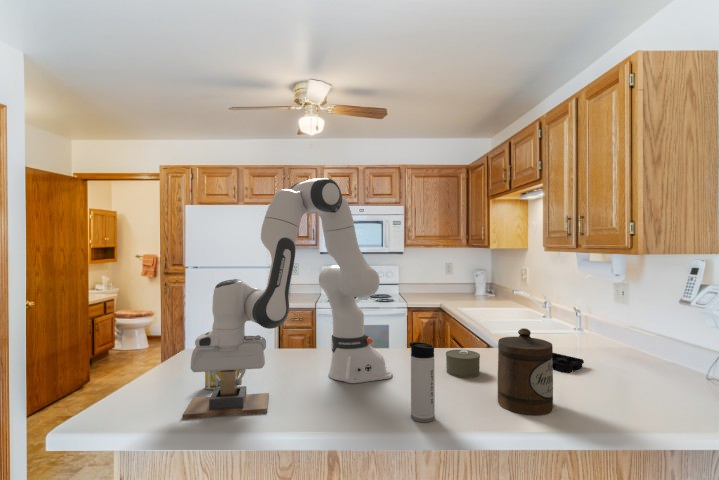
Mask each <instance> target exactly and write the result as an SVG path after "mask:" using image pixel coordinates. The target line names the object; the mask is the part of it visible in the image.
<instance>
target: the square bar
mask: <svg viewBox="0 0 719 480" xmlns="http://www.w3.org/2000/svg"><path fill="white" fill-rule="evenodd" d="M236 378H237V370H226V371H221V397H225V396H237V387H238V385H236Z"/></svg>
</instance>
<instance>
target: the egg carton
mask: <svg viewBox="0 0 719 480" xmlns="http://www.w3.org/2000/svg"><path fill="white" fill-rule="evenodd" d="M552 361H553V370H555V371H556V372H559V373H562V374H570V373H572V372H574V371H579V370H582V368H583V364H584V363H585V361H584V359H582V358H578V357H574V356H569V355H567V354H566V355H565V354H562V353H561V354H560V353H556V352H553V355H552Z"/></svg>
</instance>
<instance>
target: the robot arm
mask: <svg viewBox="0 0 719 480" xmlns="http://www.w3.org/2000/svg"><path fill="white" fill-rule="evenodd" d="M305 214H318V215H319V217H320V220H321V226H322V232H323V236H324V237H323V238H324V243H325V248H326V252H327V254H328V255H329V256H331V257H332V258H333V259H334V261H335V263H336V264H333V265H329V266H326V267H324V268H323V269H321V271H320V273H319V275H318V284H319V287H320V288H321V289H322V291H323V292H324V293H325V295H326V297H327V299H328V302H329V306H330V310H331V314H332V335H331V338H330V339H331V340H330V341H331V343H330V344H331V345H330V346H331V361H330V367H329V371H328V373H327V375H328V377H329V378H331V379H333V380H335V381H341V382H345V383H347V384H359V383H366V382H367V383H368V382H373V381H379V380H380V381H381V380H387V379H388V380H389V379H391V378H392V376H393V372H392V370H391V369H390V367H388V366H386V361H385V358H384V356H383V355H382V353H381V352H379V351H378V350H376V348H374V347H373V346H371V344H372V343H373V342H374V340H373V338H372V337H370V336H368V335H367V334H365V316H364V312H363V310H362V309H361V308H360V307H359V305H358V304H357V302H356V300H355V298H359V299H360V298H369V297H372V296H374V295H375V294H376V293H377V292H378V291H379V288H380V277H379V274H378V272H377V270H375V269H374V268H373V267H372V266H370V264H369V263H368V262H367V260H366V259H365V256H364V255H363V253H362V251H361V249H360V246H359V243H358V242H359V241H358V238H357V232H356V229H355V223H354V219H353V215H352V211H351V209H350V205H349V203H348V200H347V198H345V197H343V194H342V191H341V188H340V187H339V185H338V183H337V182H336V181H335V180H333V179H331V178H327V177H321V178H312V179H308V180H305V181H302V182H297V183H295V184H292V185H291V187H289V189H288V188H284V189H279V190H278V191H276V193H274V195H273V197H272V198H271V201H270V203H269V205H268V208H267V210H266V212H265V215H264V219H263V221H262V224H261V229H260V241H261V242H262V244H263V246H264V248H266V249H267V251H269V254H270V258H271V265H270V270H269V275H268V278H267V284H266V287H265V289H260V288H257V287H254V286H251V285H249V284H247V283H245V282H244V281H242V280H241V279H237V278H233V279H227V280H223V281H220V282H218V283H217V284H216V285H215V287H214V289H213V296H212V307H211V308H212V309H211V310H212V316H213V323H212V326H211V327H212V329H211V330H210V331H208V332H204V333H202V334H200V335H199V336H197V337H196V338H195V341H194V345H195V348H194V349H193V351H192V353H191V358H190V370H191V371H192V373H202V372H203V373H205V372H208V371H212V376H213V378H214V379H215V381H216V387H218V386H221V378H220V379H219V377H218V375H217V373H218V371H226V370H240V374H239V376H238V377H237V378H236V385H237V386H241V385H242V383H243V381H242V379H243V377H244V376H245V374H246V371H247V370H256V369H259V370H260V369H263V367H265V365H266V355H265V354H266V353H265V350H266V348H267V340H266V339H265V338H264V337H263V336H261V335H257V334H256V335H246V334H245V333H246V329H245V328H246V327H245V325H246V322H248V321H249V322H253V323H255V324H257V325H259V326H261V327H263V328H264V329H270V330H271V329H276V328H278V327H280V326H281V325H282V324H283V323H284V322H285V321H286V320H287V317H289V314H290V313H289V312H290V300H289V299H290V298H289V294H290V293H289V292H290V286H291V282H292V281H291V280H292V275H293V271H294V264H295V258H296V241H297V238H298V237H297V236H298V232H299V230H300V226H301V222H302V217H303V216H304V215H305Z"/></svg>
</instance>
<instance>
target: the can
mask: <svg viewBox="0 0 719 480" xmlns="http://www.w3.org/2000/svg"><path fill="white" fill-rule="evenodd" d="M480 357H481V355H480V353H479V352H477V351H473V350H469V349H452V350H448V351H446V352H445V359H446V362H445V365H446V366H445V367H446V370H445V372H446V373H447V374H448V375H449V376H451V377H454V378H455V377H456V378H461V379H462V378H463V379H471V378H472V379H473V378H477V377H478V376H480V361H481V360H480Z"/></svg>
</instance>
